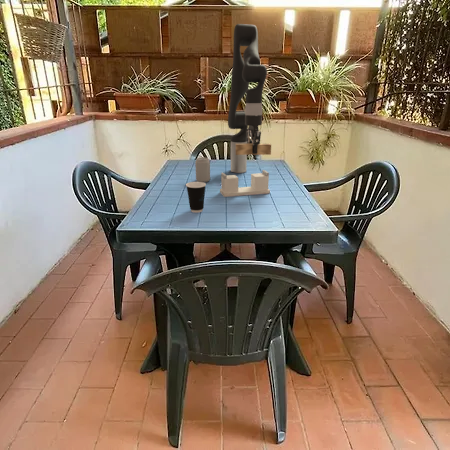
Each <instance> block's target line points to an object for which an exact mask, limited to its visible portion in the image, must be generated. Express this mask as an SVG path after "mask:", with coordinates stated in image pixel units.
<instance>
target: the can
mask: <svg viewBox="0 0 450 450" xmlns="http://www.w3.org/2000/svg"><path fill="white" fill-rule="evenodd" d="M194 164H195V180H196V182H203V183H208V182H210V180H211V162H210V160H209V158H208V157H197V158H196V160H195V163H194Z"/></svg>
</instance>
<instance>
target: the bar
mask: <svg viewBox="0 0 450 450" xmlns="http://www.w3.org/2000/svg"><path fill="white" fill-rule="evenodd" d="M236 155H247V156H248V155H249V156H253V155H255V156H257V155H260V156H261V155H263V156H264V155H265V156H266V155H267V156H268V155H269V156H270V155H272V144H271V143H270V142H269V143H266V142H265V143H262V142H260V144H258V146H257V154H253V153H252V143H248V142H247V143H245V144H236Z"/></svg>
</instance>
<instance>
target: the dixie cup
mask: <svg viewBox="0 0 450 450" xmlns="http://www.w3.org/2000/svg"><path fill="white" fill-rule="evenodd" d="M185 186H186V190H187V191H186V192H187V197H188V203H189V210H190V211H191V212H192V213H194V214H195V213H197V214H198V213H202V212H203V210H204V205H205V195H206V186H207V183H206V182H198V181H190V182H187V183H185Z"/></svg>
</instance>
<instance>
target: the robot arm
mask: <svg viewBox="0 0 450 450" xmlns="http://www.w3.org/2000/svg"><path fill="white" fill-rule="evenodd" d="M258 32H259V31H258V28H257V26H256V25H255V24H244V23H237V24H235V26H234V29H233V58H232V59H233V60H232V69H231V79H230V81H231V82H230V100H229V110H228V116H227V125H228V128H229V129H230V130H239V131H238V132H237V133H235V134H233V135H231V136H230V172H231V173H236V174H242V173H246V172H247V162H248V161H247V159H248V157H247V156H248V155H236V144H245V143H252V153H253V154H257V146H258V144H260V143H261V136H262V131H261V130H259V126H262V125H263V104H262V103H263V90H264V87H265V86H264V85H265V83H266V79H267V76H268V69H267V66H266V65H264V64H261V58H260V55H259V33H258ZM241 47H246V48H245V49H244V51H243V55H242V53H241ZM251 83H257V85H256V86H254V87H252V88H249V86H250V84H251ZM244 97H245V107H244V108H245V109H244V111H237V108H238V106H239V104H240V102H241V101H242V99H243V98H244Z"/></svg>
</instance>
